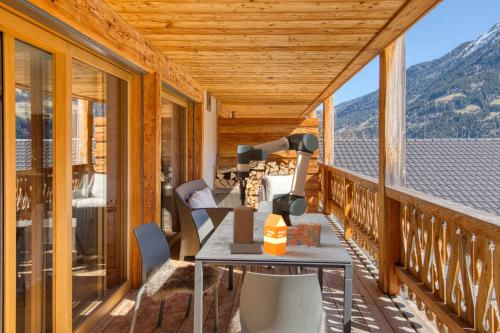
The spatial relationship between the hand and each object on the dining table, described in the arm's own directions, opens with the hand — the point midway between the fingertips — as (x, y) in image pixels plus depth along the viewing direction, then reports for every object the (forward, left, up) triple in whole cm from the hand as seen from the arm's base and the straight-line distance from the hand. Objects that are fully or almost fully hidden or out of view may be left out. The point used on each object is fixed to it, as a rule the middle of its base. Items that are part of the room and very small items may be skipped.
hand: (242, 210), depth 262 cm
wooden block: (0, +13, -17) cm, 21 cm away
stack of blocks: (-32, +17, -17) cm, 40 cm away
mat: (0, +29, -16) cm, 33 cm away
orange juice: (-15, +36, -17) cm, 42 cm away
